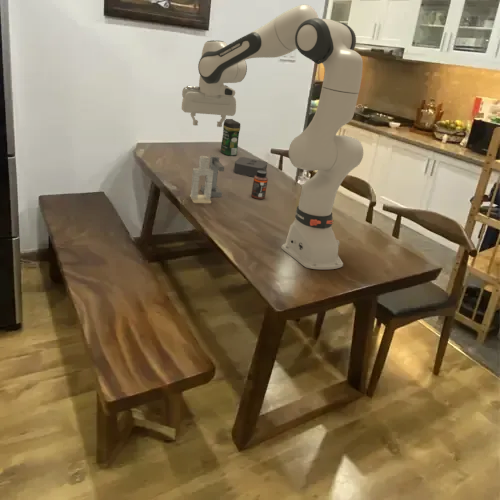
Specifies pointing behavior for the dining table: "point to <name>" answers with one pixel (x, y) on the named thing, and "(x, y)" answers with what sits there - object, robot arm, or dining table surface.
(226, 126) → the coffee jar
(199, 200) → the felt pad
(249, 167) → the streaming box
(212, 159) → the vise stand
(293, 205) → the dining table surface
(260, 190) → the supplement bottle
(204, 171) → the pale upright frame
